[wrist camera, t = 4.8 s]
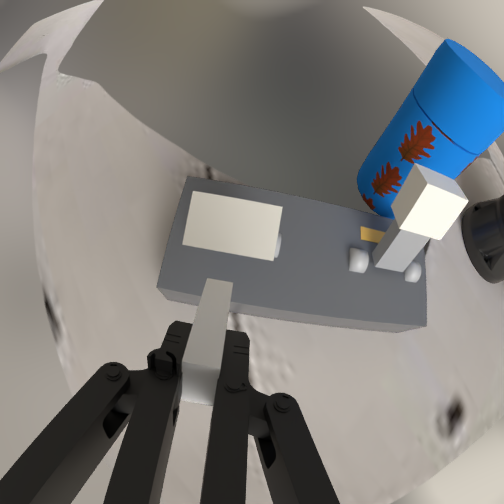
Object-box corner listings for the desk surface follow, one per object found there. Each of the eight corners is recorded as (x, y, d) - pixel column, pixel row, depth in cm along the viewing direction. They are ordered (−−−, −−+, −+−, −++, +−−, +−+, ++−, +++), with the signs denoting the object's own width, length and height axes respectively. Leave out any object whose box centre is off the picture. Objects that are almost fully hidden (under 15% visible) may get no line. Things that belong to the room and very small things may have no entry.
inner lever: (402, 256, 28) (454, 180, 20) (408, 277, 26) (468, 200, 18) (365, 247, 28) (414, 162, 20) (369, 270, 26) (427, 183, 18)
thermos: (341, 176, 39) (429, 34, 15) (381, 153, 42) (458, 40, 18) (390, 235, 36) (518, 120, 13) (424, 203, 39) (524, 105, 16)
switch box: (396, 245, 36) (427, 223, 29) (397, 332, 31) (433, 324, 25) (191, 204, 34) (186, 169, 27) (167, 299, 30) (153, 283, 23)
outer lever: (263, 226, 26) (282, 207, 15) (257, 258, 26) (273, 261, 15) (209, 216, 26) (193, 190, 15) (203, 248, 26) (182, 244, 15)
